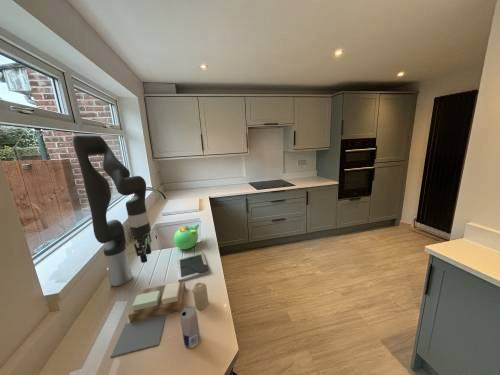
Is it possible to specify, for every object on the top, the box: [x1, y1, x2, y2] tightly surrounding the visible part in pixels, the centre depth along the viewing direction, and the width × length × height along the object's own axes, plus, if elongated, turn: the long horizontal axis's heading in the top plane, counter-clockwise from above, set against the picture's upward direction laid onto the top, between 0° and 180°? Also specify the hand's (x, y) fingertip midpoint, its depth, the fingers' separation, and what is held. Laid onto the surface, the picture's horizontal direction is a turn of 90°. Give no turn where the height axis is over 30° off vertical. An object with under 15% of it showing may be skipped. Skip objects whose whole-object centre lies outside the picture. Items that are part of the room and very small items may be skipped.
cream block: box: [162, 281, 180, 304], centre depth 86 cm, size 9×6×2 cm, turn 13°
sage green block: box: [131, 290, 160, 311], centre depth 83 cm, size 9×6×2 cm, turn 103°
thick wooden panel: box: [127, 280, 187, 323], centre depth 87 cm, size 20×14×4 cm
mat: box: [110, 314, 167, 358], centre depth 73 cm, size 15×13×1 cm
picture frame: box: [176, 252, 210, 282], centre depth 112 cm, size 16×3×21 cm
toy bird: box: [173, 223, 200, 250], centre depth 135 cm, size 18×17×15 cm
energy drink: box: [179, 306, 201, 349], centre depth 68 cm, size 5×5×12 cm
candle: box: [192, 282, 209, 311], centre depth 84 cm, size 6×6×10 cm
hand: (146, 257), depth 88 cm, fingers open, 6 cm apart
